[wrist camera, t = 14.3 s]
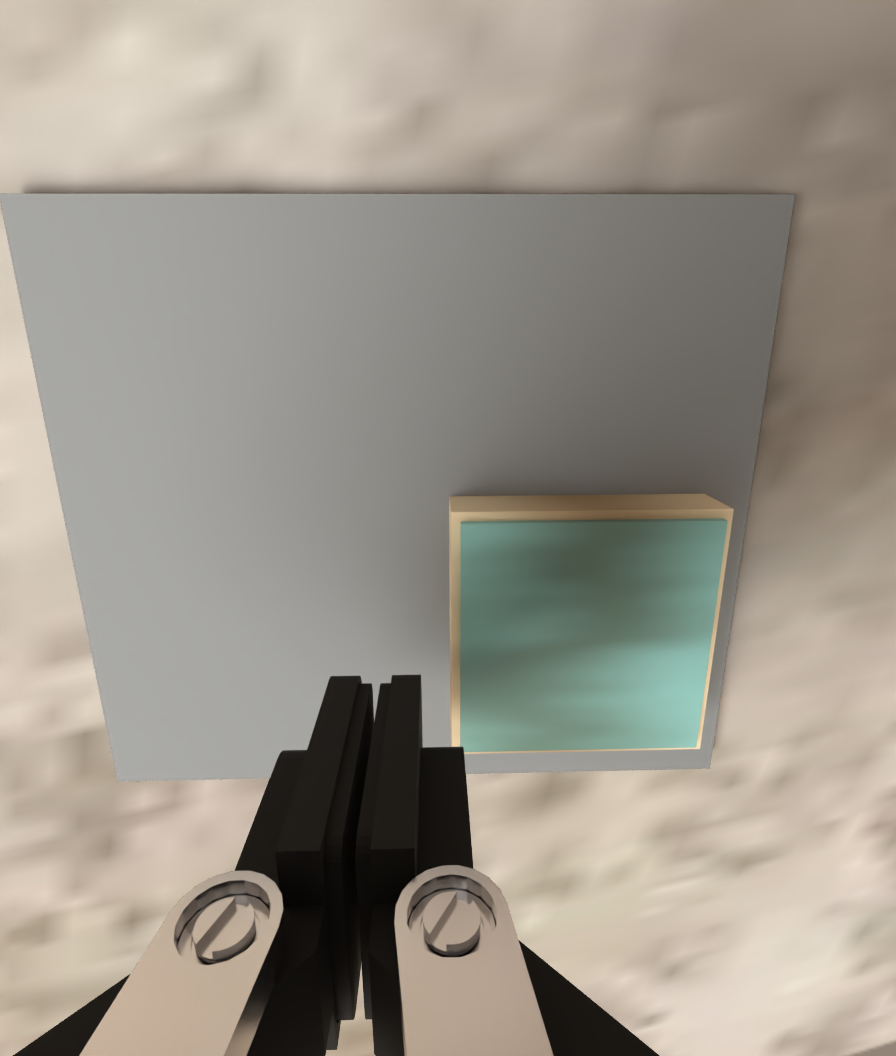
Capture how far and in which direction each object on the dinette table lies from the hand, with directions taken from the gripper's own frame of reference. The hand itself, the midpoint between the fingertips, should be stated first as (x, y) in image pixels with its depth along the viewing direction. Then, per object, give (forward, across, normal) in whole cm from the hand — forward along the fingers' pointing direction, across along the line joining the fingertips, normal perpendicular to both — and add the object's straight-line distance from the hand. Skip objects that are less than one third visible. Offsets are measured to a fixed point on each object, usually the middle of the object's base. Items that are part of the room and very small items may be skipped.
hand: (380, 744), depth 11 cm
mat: (+5, 0, -3) cm, 6 cm away
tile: (+3, -4, +2) cm, 6 cm away
